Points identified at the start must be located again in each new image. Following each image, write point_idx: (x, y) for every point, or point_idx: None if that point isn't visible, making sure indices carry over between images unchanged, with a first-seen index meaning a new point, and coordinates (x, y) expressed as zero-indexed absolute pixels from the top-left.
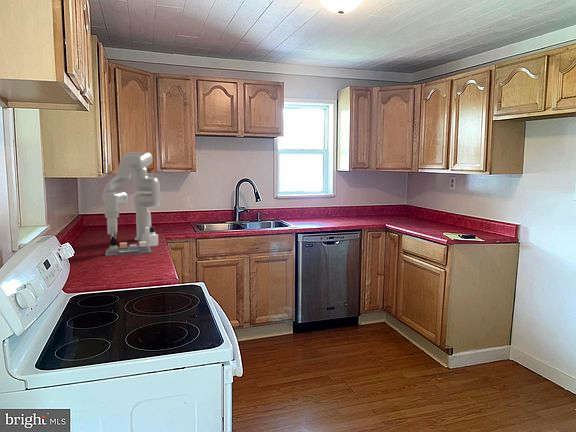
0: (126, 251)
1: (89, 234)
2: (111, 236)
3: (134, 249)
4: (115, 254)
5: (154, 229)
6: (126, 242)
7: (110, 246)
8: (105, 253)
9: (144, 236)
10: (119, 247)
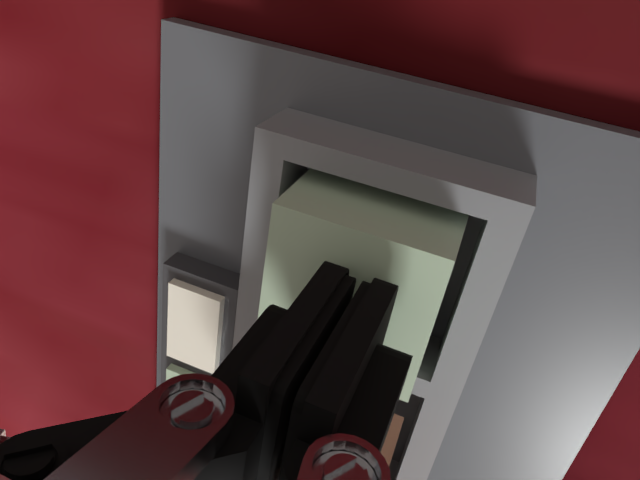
0: (166, 374)
1: None
2: (5, 451)
3: None
4: (160, 203)
5: None
6: None
7: (373, 250)
8: (314, 59)
9: None
10: (437, 406)
